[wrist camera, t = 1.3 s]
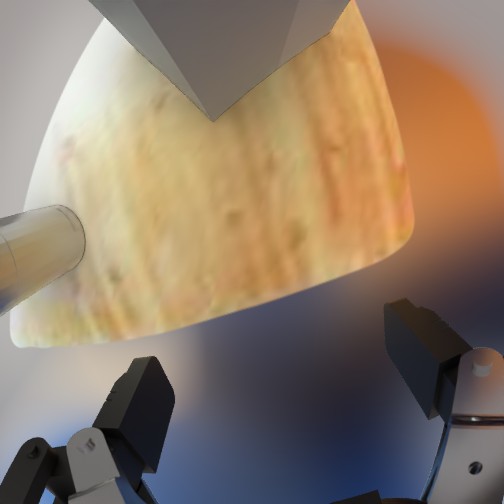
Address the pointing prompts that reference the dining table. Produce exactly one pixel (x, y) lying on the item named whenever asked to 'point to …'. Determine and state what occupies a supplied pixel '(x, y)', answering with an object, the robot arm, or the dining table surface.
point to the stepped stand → (220, 40)
